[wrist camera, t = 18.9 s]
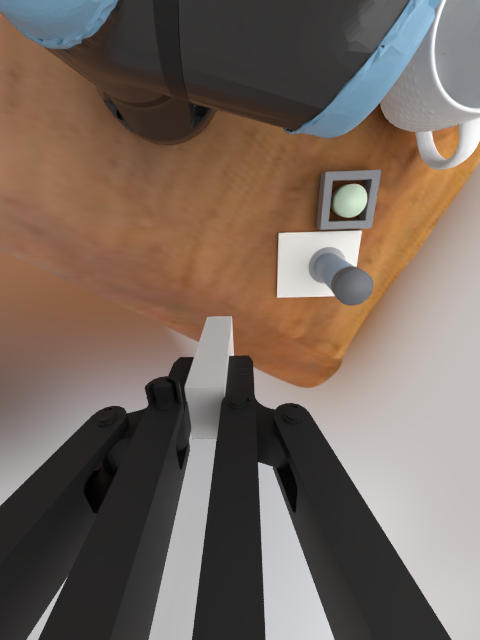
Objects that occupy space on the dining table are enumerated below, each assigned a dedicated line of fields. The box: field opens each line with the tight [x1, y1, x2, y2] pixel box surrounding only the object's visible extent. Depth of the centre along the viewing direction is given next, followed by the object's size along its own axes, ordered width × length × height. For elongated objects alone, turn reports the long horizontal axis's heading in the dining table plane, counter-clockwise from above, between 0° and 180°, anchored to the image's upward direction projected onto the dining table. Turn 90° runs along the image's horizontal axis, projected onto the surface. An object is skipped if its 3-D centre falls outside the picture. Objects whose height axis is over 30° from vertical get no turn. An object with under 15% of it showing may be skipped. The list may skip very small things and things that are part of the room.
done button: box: [330, 184, 367, 218], centre depth 35 cm, size 4×4×3 cm
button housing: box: [316, 170, 381, 230], centre depth 36 cm, size 7×7×2 cm
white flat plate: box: [277, 230, 362, 298], centre depth 40 cm, size 10×12×1 cm
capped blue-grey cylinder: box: [314, 253, 373, 305], centre depth 35 cm, size 4×4×11 cm
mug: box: [380, 0, 480, 170], centre depth 26 cm, size 15×11×13 cm
